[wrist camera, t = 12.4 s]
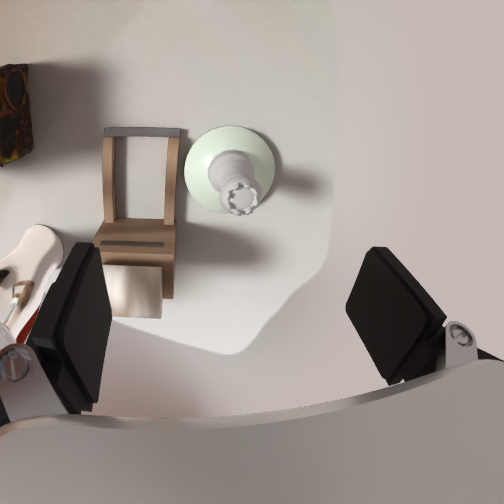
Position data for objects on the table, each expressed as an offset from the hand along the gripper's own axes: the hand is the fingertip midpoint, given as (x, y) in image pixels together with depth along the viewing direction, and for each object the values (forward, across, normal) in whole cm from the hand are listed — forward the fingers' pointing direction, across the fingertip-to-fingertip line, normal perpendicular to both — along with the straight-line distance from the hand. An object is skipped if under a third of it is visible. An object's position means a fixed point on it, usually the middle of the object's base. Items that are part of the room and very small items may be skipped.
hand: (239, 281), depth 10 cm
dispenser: (+21, +7, +6) cm, 23 cm away
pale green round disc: (+21, -2, +3) cm, 21 cm away
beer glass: (+21, +20, +12) cm, 31 cm away
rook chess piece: (+20, -2, +2) cm, 21 cm away
